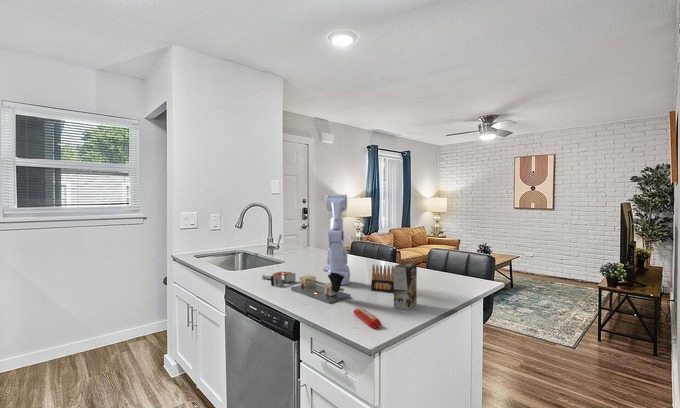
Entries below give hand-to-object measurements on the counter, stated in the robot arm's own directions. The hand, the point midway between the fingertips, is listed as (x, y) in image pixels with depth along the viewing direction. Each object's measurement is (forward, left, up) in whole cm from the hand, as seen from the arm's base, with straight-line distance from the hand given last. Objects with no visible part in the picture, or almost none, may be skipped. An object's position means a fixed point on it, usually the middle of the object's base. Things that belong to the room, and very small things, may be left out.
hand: (336, 291), depth 140 cm
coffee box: (-14, +25, -4) cm, 29 cm away
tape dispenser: (+2, -42, -4) cm, 42 cm away
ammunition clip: (-23, +6, -4) cm, 24 cm away
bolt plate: (0, -11, -3) cm, 12 cm away
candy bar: (+8, +25, -4) cm, 26 cm away
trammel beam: (-1, -12, -2) cm, 12 cm away
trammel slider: (0, -3, -2) cm, 4 cm away
